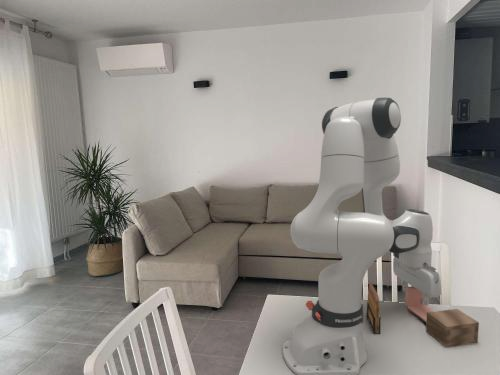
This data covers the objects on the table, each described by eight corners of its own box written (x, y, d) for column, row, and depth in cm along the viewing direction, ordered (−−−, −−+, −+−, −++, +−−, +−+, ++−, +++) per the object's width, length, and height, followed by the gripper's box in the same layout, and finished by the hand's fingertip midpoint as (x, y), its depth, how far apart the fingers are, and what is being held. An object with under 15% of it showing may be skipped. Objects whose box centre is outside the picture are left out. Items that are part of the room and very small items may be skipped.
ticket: (432, 327, 103) (433, 306, 102) (404, 305, 116) (405, 287, 115) (450, 324, 104) (451, 303, 103) (421, 303, 117) (421, 285, 116)
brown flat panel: (366, 315, 113) (367, 280, 111) (372, 316, 113) (373, 280, 111) (373, 334, 102) (374, 295, 101) (380, 334, 102) (381, 296, 100)
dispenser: (445, 347, 95) (446, 326, 94) (426, 331, 103) (426, 312, 102) (477, 342, 96) (478, 322, 96) (456, 327, 104) (457, 308, 103)
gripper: (447, 269, 104) (445, 312, 106) (406, 248, 124) (405, 284, 126) (428, 271, 103) (427, 314, 105) (390, 249, 123) (389, 286, 125)
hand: (414, 298), depth 115 cm, fingers open, 8 cm apart
